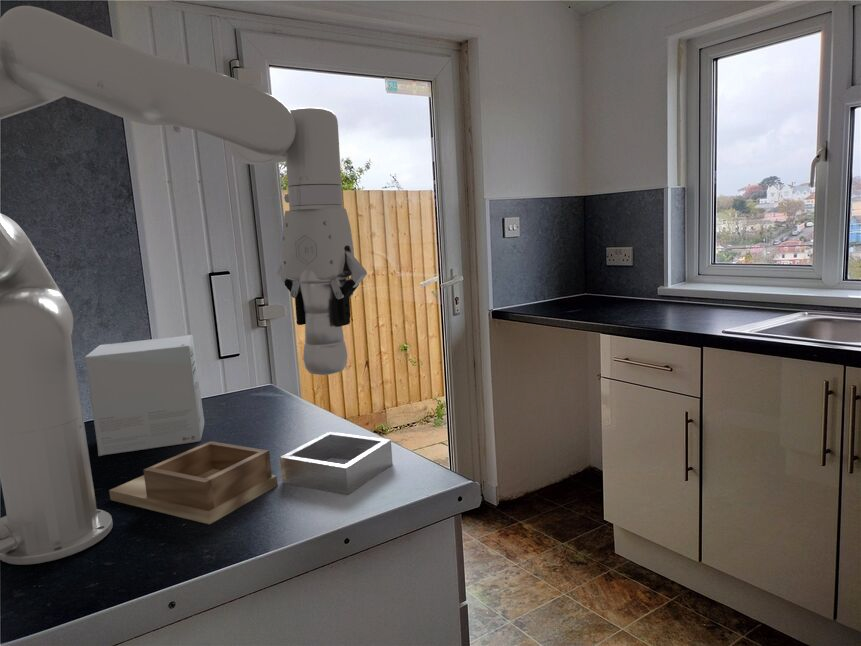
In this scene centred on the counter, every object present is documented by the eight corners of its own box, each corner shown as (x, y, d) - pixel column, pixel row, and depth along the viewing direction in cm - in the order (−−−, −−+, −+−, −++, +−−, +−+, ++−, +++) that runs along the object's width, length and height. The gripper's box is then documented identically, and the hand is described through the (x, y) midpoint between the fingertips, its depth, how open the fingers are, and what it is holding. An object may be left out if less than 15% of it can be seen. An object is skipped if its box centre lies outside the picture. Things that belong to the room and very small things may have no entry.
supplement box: (205, 421, 126) (195, 333, 123) (202, 442, 113) (190, 345, 111) (111, 434, 121) (98, 343, 118) (96, 457, 108) (82, 356, 106)
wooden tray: (209, 524, 81) (204, 484, 80) (110, 499, 90) (105, 463, 89) (277, 485, 92) (274, 449, 91) (183, 467, 102) (179, 434, 101)
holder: (348, 495, 87) (346, 468, 87) (282, 482, 93) (279, 457, 92) (392, 464, 98) (390, 439, 97) (330, 454, 104) (328, 431, 103)
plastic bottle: (295, 378, 91) (286, 239, 88) (317, 368, 97) (309, 238, 94) (336, 380, 89) (328, 238, 86) (355, 369, 95) (348, 237, 92)
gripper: (251, 202, 90) (261, 326, 92) (350, 195, 82) (357, 331, 84) (286, 203, 96) (294, 318, 99) (381, 197, 88) (386, 323, 91)
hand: (323, 323), depth 92 cm, fingers closed on plastic bottle, 6 cm apart
